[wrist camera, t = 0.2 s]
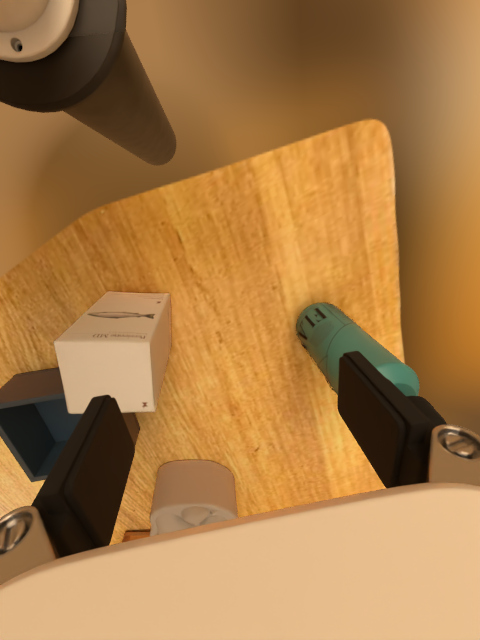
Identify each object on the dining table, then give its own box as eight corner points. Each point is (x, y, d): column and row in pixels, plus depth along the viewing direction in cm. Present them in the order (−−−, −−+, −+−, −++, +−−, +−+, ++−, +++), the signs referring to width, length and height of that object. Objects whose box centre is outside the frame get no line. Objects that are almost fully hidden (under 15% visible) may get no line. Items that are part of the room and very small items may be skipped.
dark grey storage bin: (15, 374, 35) (-20, 407, 29) (114, 357, 35) (97, 387, 30) (54, 443, 40) (31, 482, 34) (140, 428, 41) (130, 463, 35)
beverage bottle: (307, 288, 35) (421, 388, 16) (347, 309, 36) (489, 419, 18) (281, 330, 37) (356, 460, 18) (320, 348, 38) (424, 481, 20)
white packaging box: (171, 291, 33) (153, 342, 21) (172, 345, 36) (156, 415, 24) (106, 288, 32) (50, 340, 20) (112, 344, 35) (66, 417, 23)
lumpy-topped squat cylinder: (157, 459, 44) (147, 517, 36) (238, 459, 46) (244, 514, 38) (156, 502, 48) (146, 562, 40) (230, 500, 50) (234, 557, 42)
